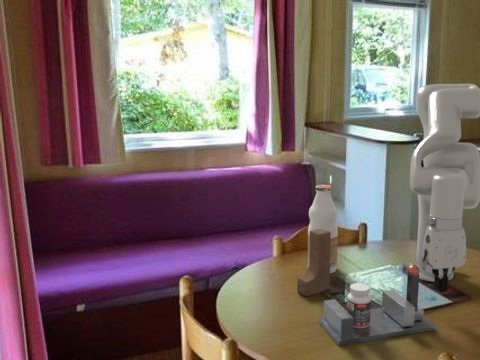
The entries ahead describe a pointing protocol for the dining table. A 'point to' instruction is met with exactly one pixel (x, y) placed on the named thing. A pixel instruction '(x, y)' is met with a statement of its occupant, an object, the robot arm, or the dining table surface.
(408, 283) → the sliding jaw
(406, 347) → the dining table surface
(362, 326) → the pill bottle
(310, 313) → the dining table surface
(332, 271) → the fruit juice
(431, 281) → the robot arm
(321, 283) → the wooden block
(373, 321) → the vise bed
